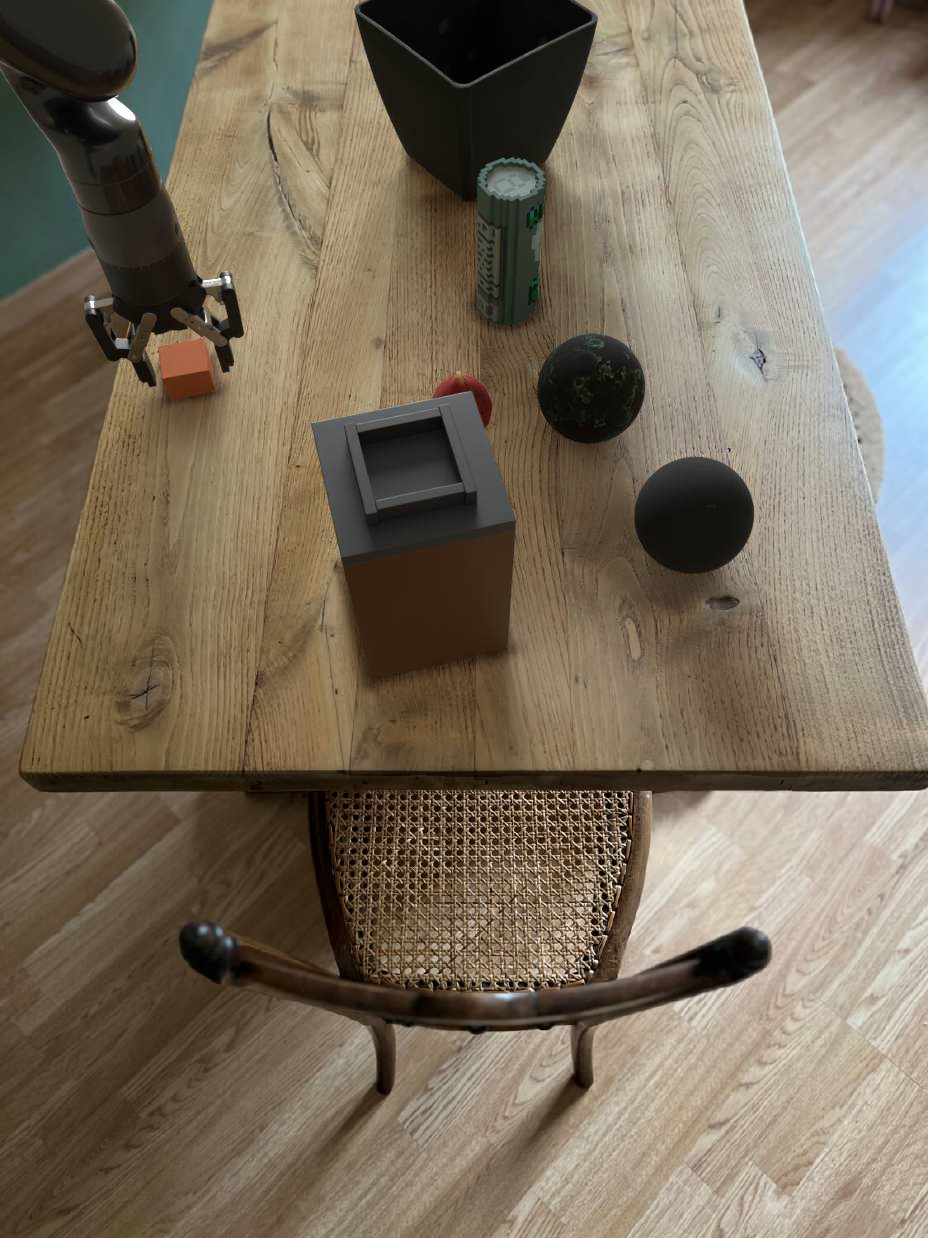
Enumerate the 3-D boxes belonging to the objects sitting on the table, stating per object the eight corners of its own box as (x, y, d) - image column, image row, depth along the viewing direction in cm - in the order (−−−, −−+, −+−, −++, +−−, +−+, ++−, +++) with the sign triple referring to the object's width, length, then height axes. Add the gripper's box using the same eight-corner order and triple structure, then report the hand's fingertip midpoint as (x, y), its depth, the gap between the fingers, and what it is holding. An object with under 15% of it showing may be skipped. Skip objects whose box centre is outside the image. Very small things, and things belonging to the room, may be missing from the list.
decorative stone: (574, 371, 94) (584, 293, 85) (656, 419, 91) (675, 343, 82) (513, 430, 90) (517, 355, 81) (596, 482, 87) (610, 410, 78)
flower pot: (463, 232, 104) (460, 85, 90) (365, 152, 112) (348, 3, 97) (586, 165, 110) (603, 16, 95) (486, 92, 117) (487, -56, 102)
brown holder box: (370, 681, 77) (338, 546, 59) (343, 564, 83) (307, 409, 65) (507, 649, 78) (517, 508, 61) (472, 536, 84) (472, 376, 66)
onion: (502, 426, 90) (504, 367, 83) (471, 466, 88) (471, 408, 81) (452, 402, 92) (451, 343, 85) (420, 441, 90) (416, 382, 83)
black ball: (753, 583, 81) (787, 518, 73) (645, 604, 80) (666, 540, 72) (715, 494, 86) (742, 422, 77) (612, 513, 85) (628, 443, 76)
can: (546, 311, 98) (557, 185, 85) (497, 333, 96) (501, 208, 83) (515, 278, 101) (521, 150, 87) (467, 298, 99) (466, 171, 86)
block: (170, 400, 92) (161, 378, 90) (166, 367, 95) (157, 345, 92) (216, 391, 93) (208, 370, 90) (211, 359, 95) (203, 337, 93)
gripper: (214, 192, 81) (254, 334, 96) (49, 220, 80) (115, 360, 94) (225, 248, 78) (264, 387, 92) (52, 278, 76) (120, 415, 91)
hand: (188, 373), depth 93 cm, fingers open, 7 cm apart
